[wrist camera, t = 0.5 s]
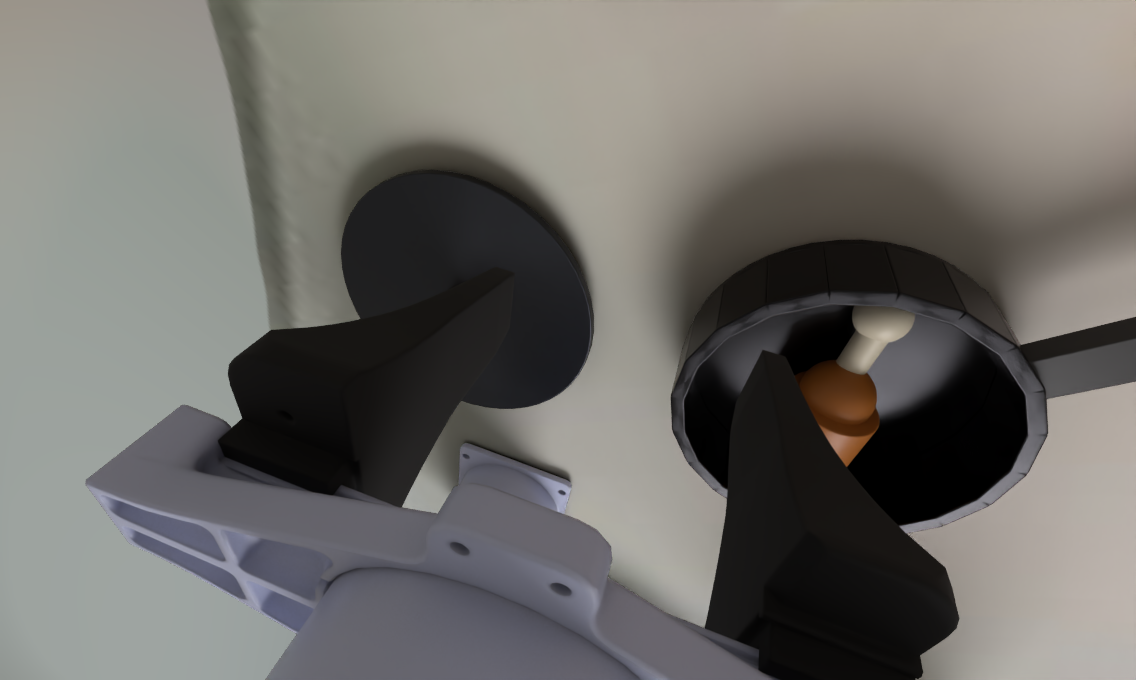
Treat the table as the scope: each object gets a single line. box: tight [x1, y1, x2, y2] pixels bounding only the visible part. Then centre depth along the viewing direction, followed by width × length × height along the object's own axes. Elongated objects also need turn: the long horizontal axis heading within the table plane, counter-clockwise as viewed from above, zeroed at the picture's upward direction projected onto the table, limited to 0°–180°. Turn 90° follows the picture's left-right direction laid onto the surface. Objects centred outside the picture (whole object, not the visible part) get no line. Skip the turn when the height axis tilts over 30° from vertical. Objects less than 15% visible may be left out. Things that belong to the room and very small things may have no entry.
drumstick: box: [795, 306, 915, 467], centre depth 22 cm, size 10×4×4 cm, turn 170°
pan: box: [671, 240, 1048, 533], centre depth 23 cm, size 13×13×4 cm
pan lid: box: [341, 170, 594, 409], centre depth 27 cm, size 14×14×5 cm
